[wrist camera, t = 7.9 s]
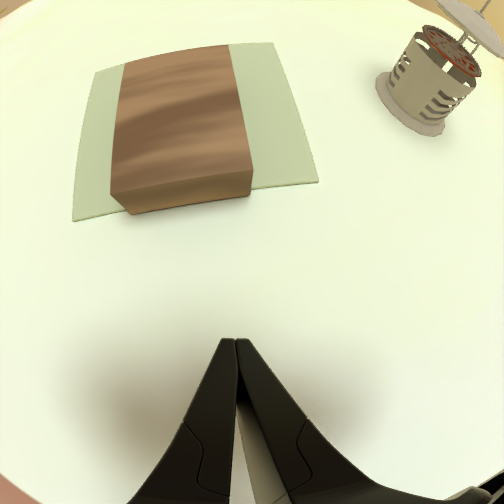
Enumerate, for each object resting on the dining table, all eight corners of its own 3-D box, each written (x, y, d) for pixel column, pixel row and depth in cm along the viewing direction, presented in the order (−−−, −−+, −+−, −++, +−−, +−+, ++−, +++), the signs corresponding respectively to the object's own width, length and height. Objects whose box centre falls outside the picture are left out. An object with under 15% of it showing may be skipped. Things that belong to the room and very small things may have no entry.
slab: (253, 169, 16) (228, 44, 18) (110, 194, 15) (125, 63, 18) (250, 195, 20) (228, 75, 22) (131, 214, 19) (136, 91, 21)
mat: (318, 182, 21) (319, 180, 21) (73, 221, 19) (72, 220, 19) (272, 44, 24) (272, 42, 24) (96, 74, 22) (95, 72, 22)
